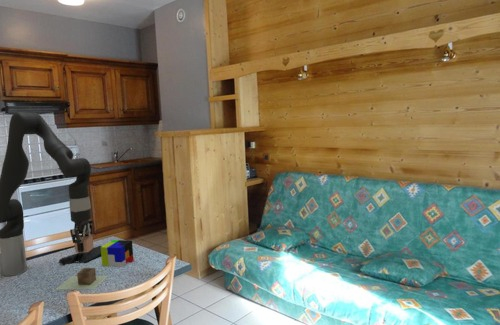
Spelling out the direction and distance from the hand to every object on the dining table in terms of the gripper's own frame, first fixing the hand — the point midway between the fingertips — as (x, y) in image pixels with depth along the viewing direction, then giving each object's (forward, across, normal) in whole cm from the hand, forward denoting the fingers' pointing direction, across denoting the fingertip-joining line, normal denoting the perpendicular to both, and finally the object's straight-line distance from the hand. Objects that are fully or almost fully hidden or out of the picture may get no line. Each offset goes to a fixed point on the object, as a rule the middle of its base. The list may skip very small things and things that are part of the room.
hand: (84, 249), depth 144 cm
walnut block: (+14, 0, 0) cm, 14 cm away
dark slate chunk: (+16, -30, -17) cm, 38 cm away
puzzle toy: (+16, -21, +4) cm, 26 cm away
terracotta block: (0, 0, 0) cm, 0 cm away
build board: (+15, 0, -2) cm, 15 cm away
